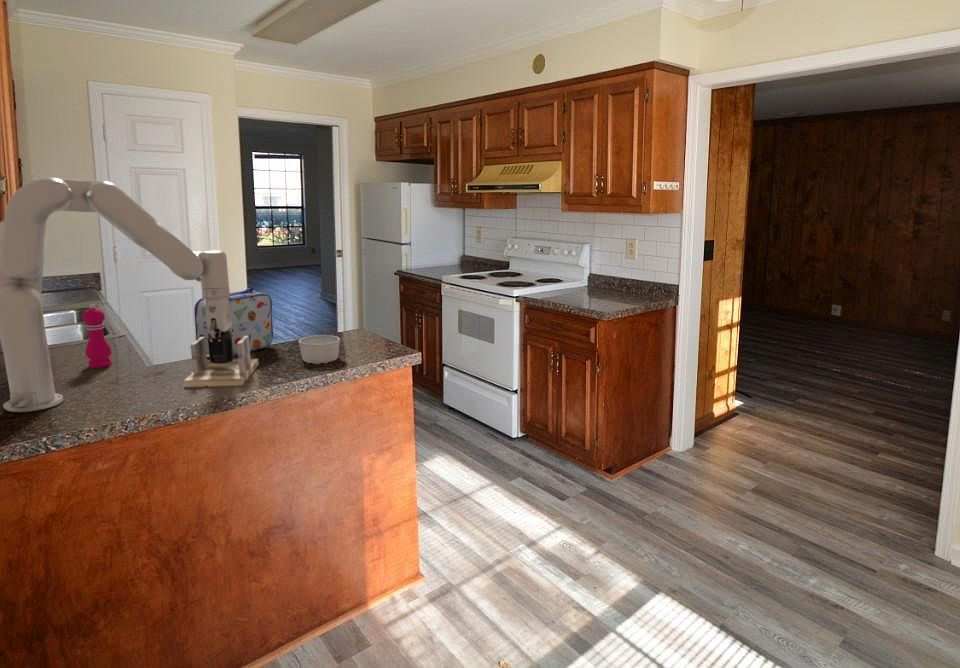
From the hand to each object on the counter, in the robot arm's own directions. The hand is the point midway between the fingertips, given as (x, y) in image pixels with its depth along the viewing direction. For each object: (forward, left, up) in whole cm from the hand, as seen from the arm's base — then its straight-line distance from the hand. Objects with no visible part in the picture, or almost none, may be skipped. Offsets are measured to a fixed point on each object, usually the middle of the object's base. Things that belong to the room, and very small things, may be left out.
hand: (221, 351), depth 192 cm
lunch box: (+28, +2, -8) cm, 29 cm away
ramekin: (+15, -27, -8) cm, 32 cm away
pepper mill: (+16, +42, -8) cm, 46 cm away
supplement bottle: (0, 0, -3) cm, 3 cm away
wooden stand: (0, 0, -8) cm, 8 cm away
